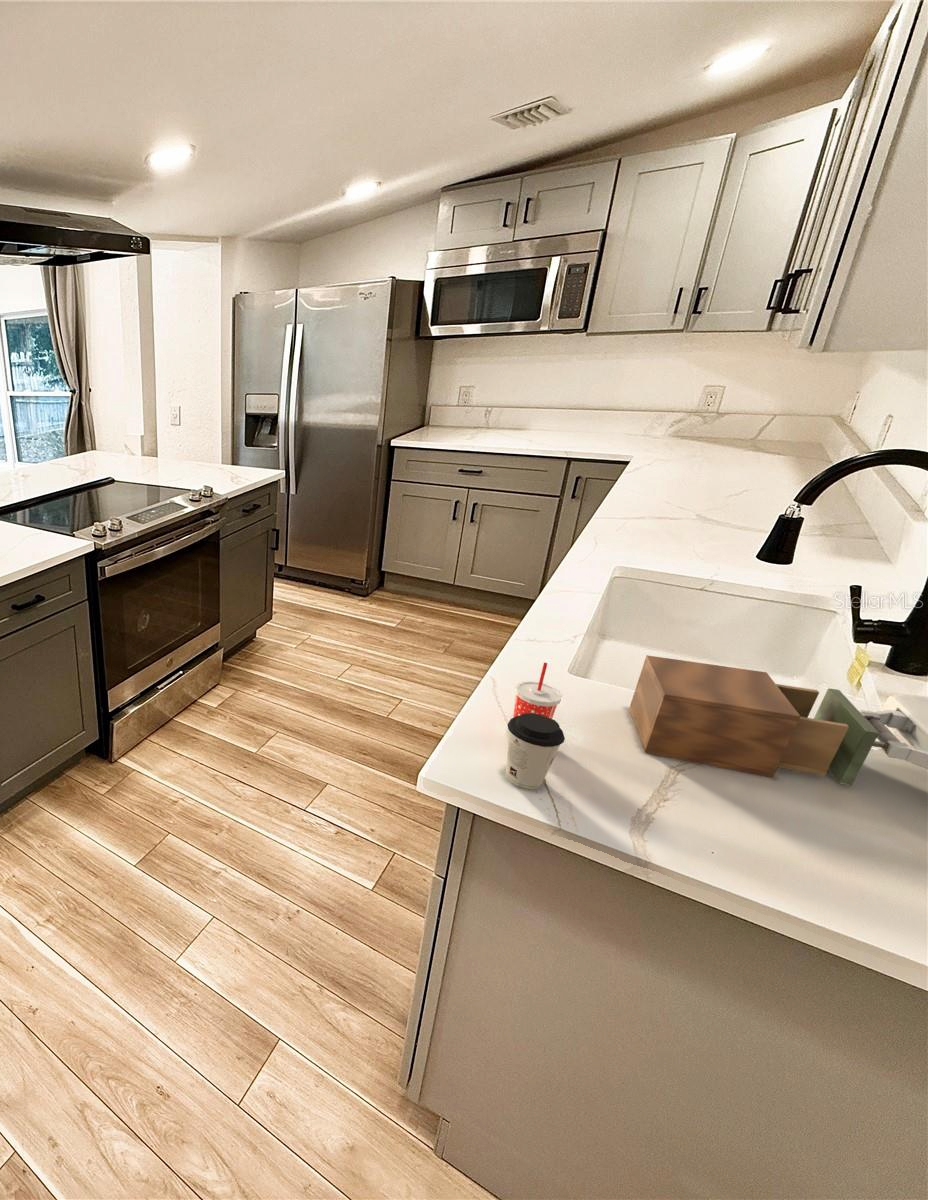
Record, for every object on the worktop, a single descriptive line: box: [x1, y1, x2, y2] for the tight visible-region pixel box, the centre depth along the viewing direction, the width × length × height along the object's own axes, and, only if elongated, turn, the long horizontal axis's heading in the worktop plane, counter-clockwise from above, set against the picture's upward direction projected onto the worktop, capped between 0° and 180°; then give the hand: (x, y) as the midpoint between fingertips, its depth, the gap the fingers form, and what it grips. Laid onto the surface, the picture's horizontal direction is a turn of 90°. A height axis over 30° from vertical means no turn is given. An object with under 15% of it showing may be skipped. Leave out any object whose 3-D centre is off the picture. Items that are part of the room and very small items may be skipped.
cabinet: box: [628, 655, 800, 778], centre depth 94 cm, size 15×13×11 cm
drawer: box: [775, 683, 901, 786], centre depth 89 cm, size 18×11×9 cm, turn 62°
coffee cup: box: [505, 713, 566, 790], centre depth 89 cm, size 7×7×10 cm
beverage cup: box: [512, 662, 563, 719], centre depth 96 cm, size 6×6×14 cm
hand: (871, 731), depth 85 cm, fingers closed on drawer, 6 cm apart
